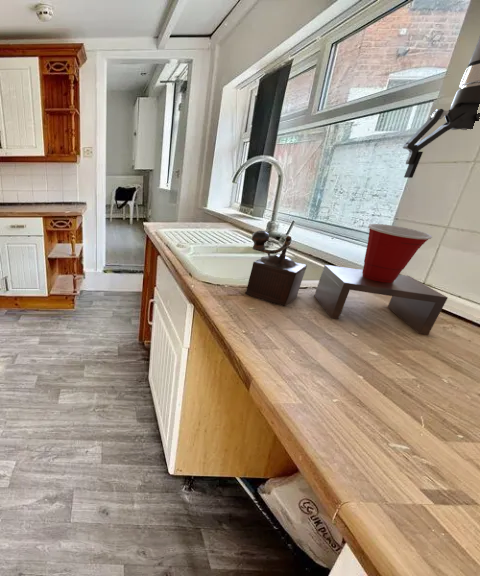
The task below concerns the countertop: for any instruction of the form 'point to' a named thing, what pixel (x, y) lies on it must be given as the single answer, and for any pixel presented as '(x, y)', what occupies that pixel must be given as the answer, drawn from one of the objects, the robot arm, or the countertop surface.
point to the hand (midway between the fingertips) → (439, 179)
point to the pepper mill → (274, 273)
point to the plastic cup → (390, 251)
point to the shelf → (404, 290)
